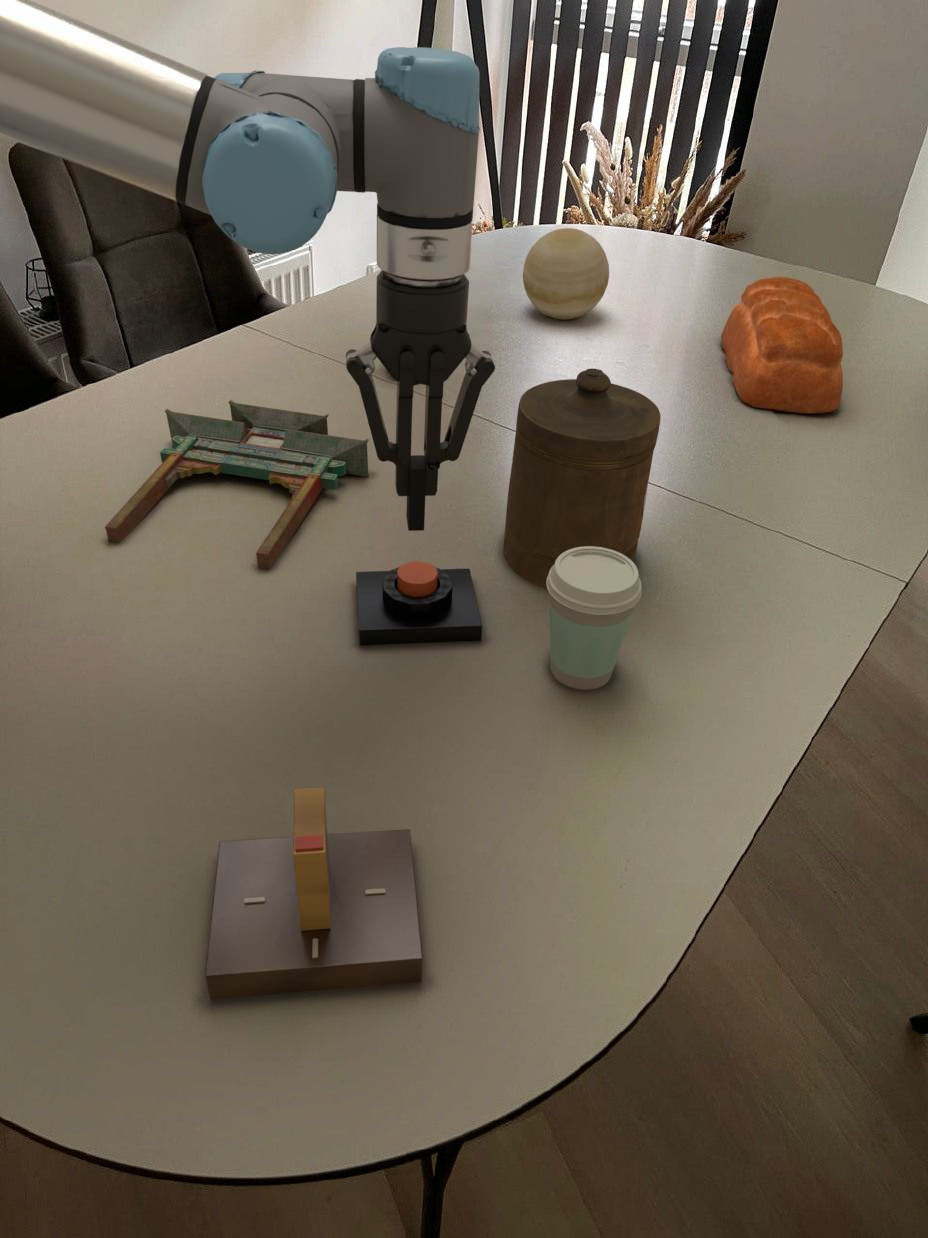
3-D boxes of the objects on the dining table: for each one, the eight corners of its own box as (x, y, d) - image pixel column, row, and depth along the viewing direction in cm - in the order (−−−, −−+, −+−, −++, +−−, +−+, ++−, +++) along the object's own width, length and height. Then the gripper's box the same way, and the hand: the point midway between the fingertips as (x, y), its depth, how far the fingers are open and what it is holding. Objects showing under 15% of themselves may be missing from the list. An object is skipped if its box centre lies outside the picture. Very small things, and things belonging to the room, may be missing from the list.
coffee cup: (642, 673, 91) (664, 570, 84) (587, 714, 86) (605, 609, 79) (574, 633, 96) (589, 532, 89) (517, 669, 91) (528, 566, 84)
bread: (737, 410, 141) (758, 324, 133) (716, 335, 166) (732, 258, 158) (844, 419, 140) (871, 333, 132) (806, 342, 165) (827, 265, 157)
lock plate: (210, 1002, 63) (204, 974, 61) (223, 867, 71) (219, 839, 69) (421, 984, 64) (422, 957, 62) (409, 854, 73) (410, 827, 71)
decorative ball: (613, 312, 173) (625, 226, 164) (588, 338, 162) (599, 247, 153) (536, 297, 178) (544, 213, 169) (506, 321, 167) (513, 233, 158)
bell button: (398, 598, 93) (398, 584, 92) (396, 575, 96) (396, 561, 95) (439, 597, 94) (439, 582, 93) (435, 574, 97) (435, 560, 96)
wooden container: (660, 560, 108) (697, 376, 94) (575, 611, 99) (604, 416, 86) (561, 509, 116) (583, 332, 103) (475, 552, 107) (487, 365, 94)
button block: (359, 648, 93) (358, 615, 90) (356, 588, 101) (355, 557, 98) (481, 643, 94) (483, 610, 92) (468, 585, 102) (470, 554, 100)
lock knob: (301, 865, 68) (294, 786, 63) (329, 863, 68) (324, 784, 63) (300, 931, 64) (292, 852, 59) (330, 929, 64) (325, 849, 59)
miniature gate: (68, 508, 103) (190, 383, 125) (80, 549, 107) (196, 421, 129) (301, 548, 99) (385, 412, 121) (306, 589, 103) (386, 449, 125)
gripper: (342, 286, 73) (347, 545, 87) (510, 289, 74) (487, 543, 89) (340, 256, 79) (345, 503, 93) (496, 260, 80) (477, 502, 94)
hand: (415, 522), depth 91 cm, fingers closed
